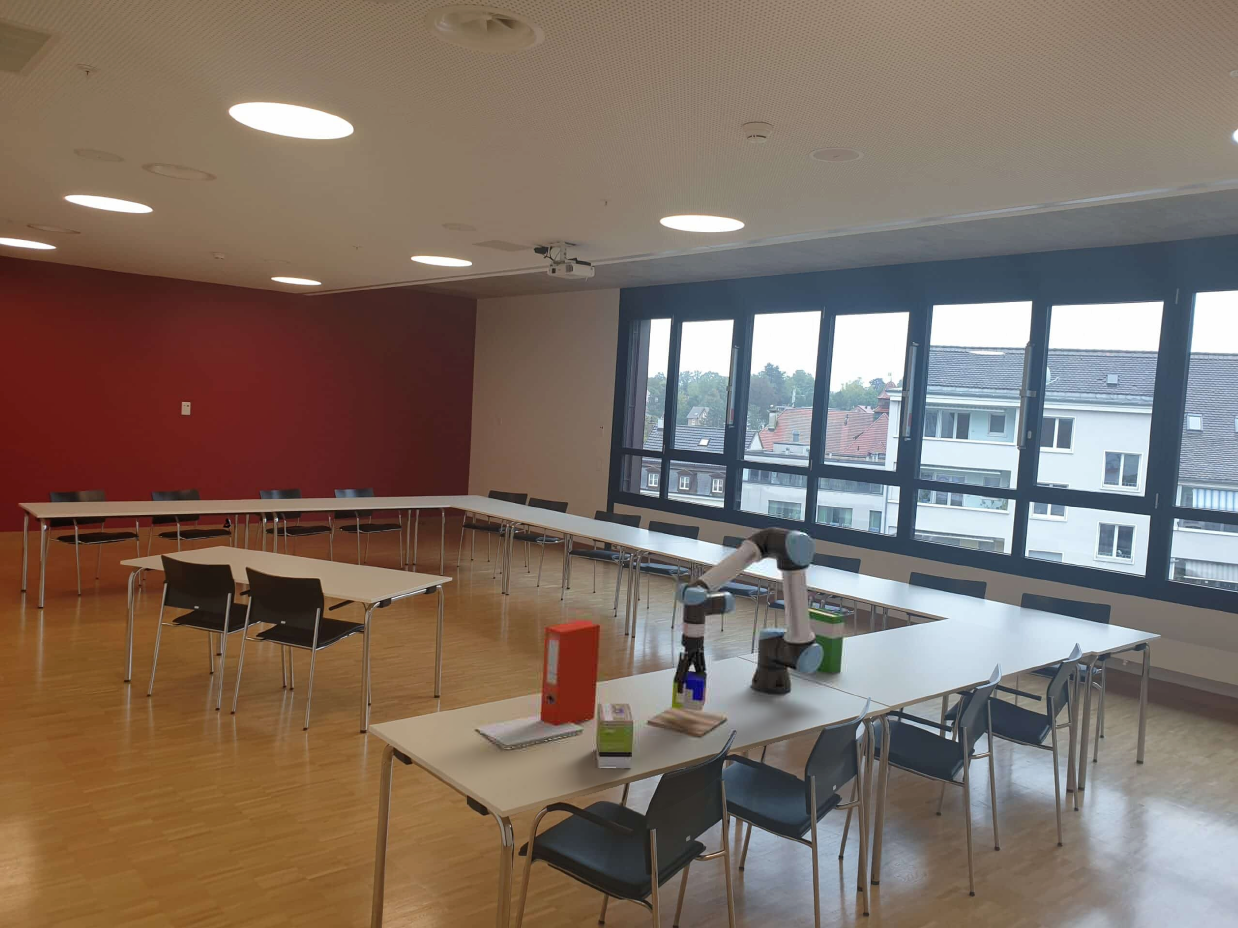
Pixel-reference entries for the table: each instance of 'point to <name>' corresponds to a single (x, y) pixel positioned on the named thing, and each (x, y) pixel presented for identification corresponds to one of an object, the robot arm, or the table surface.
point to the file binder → (570, 672)
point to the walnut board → (687, 721)
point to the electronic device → (527, 731)
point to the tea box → (614, 735)
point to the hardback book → (828, 638)
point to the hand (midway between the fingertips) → (688, 697)
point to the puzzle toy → (692, 691)
